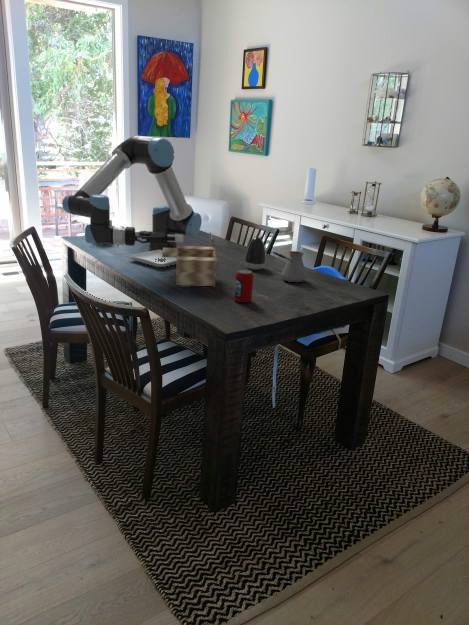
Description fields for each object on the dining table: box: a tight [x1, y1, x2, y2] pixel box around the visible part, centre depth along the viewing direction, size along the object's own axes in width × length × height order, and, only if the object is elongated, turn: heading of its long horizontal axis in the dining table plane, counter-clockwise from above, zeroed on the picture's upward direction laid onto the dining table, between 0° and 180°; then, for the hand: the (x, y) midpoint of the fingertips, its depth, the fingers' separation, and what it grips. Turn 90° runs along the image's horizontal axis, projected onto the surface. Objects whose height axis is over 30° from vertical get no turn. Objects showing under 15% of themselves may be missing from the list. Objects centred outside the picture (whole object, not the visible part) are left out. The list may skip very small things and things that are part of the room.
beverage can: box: [233, 268, 254, 303], centre depth 192 cm, size 7×7×12 cm
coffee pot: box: [271, 250, 308, 283], centre depth 220 cm, size 21×12×15 cm, turn 132°
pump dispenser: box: [244, 236, 267, 271], centre depth 238 cm, size 10×10×15 cm
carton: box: [162, 245, 219, 288], centre depth 211 cm, size 22×24×13 cm
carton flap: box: [209, 231, 219, 259], centre depth 209 cm, size 8×13×1 cm
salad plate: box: [129, 250, 177, 268], centre depth 239 cm, size 21×21×3 cm
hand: (183, 238), depth 206 cm, fingers closed
